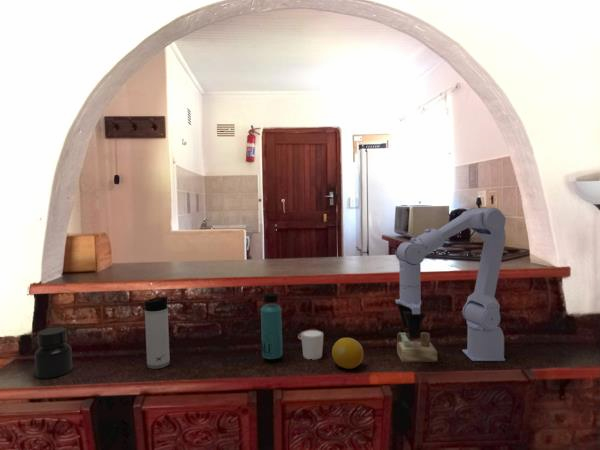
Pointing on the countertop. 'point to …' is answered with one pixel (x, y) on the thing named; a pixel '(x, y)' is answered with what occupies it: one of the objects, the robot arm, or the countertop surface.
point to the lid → (419, 344)
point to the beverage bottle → (271, 328)
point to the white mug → (312, 344)
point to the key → (404, 339)
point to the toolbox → (415, 354)
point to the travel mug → (157, 332)
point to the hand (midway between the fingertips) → (410, 332)
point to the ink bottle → (53, 353)
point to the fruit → (347, 353)
